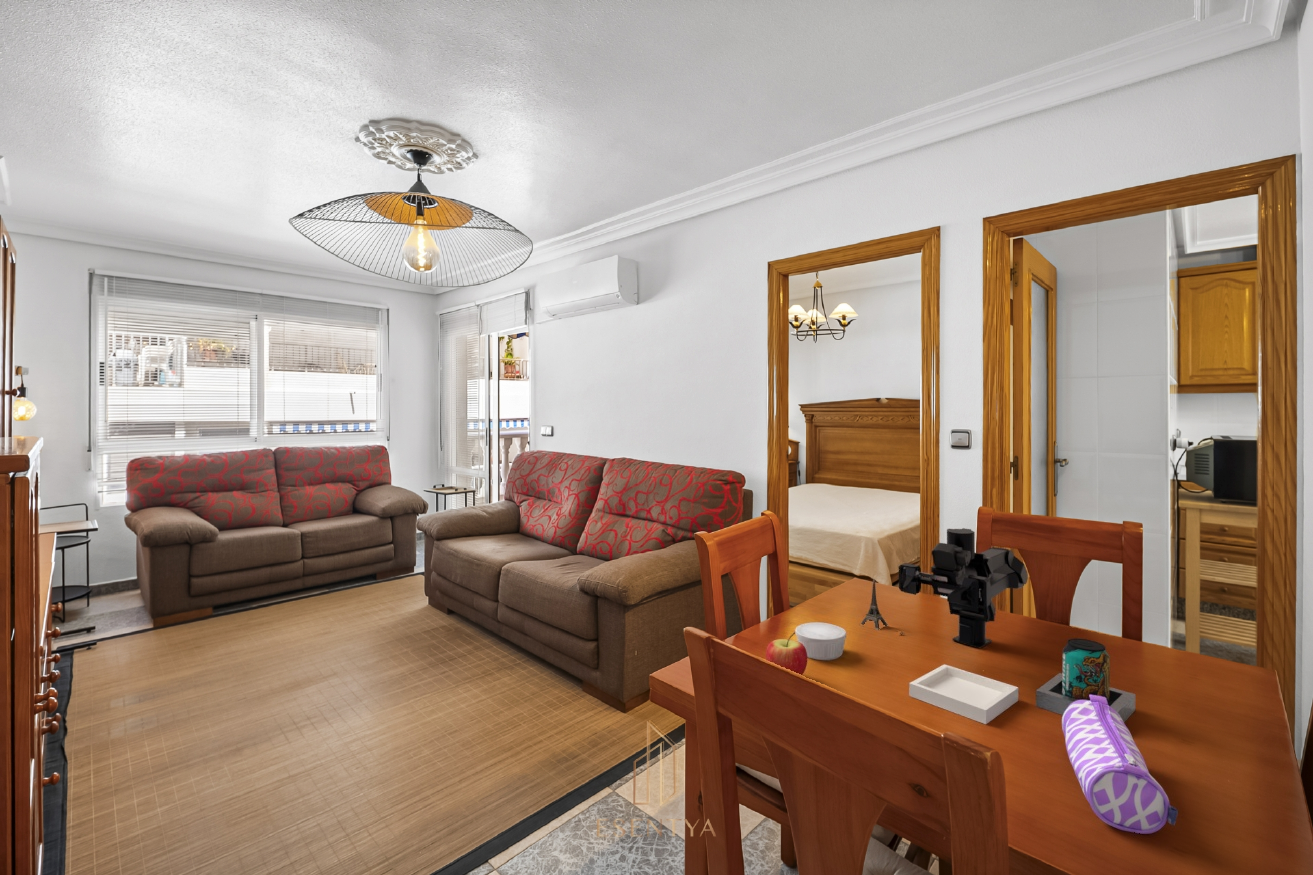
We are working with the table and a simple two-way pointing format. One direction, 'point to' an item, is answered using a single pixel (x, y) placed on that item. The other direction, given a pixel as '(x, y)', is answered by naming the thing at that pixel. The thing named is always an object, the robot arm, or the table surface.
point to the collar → (1058, 703)
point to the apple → (788, 654)
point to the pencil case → (1113, 769)
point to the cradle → (964, 693)
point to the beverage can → (1085, 669)
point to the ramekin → (821, 640)
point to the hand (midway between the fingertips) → (925, 594)
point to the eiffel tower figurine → (874, 611)
